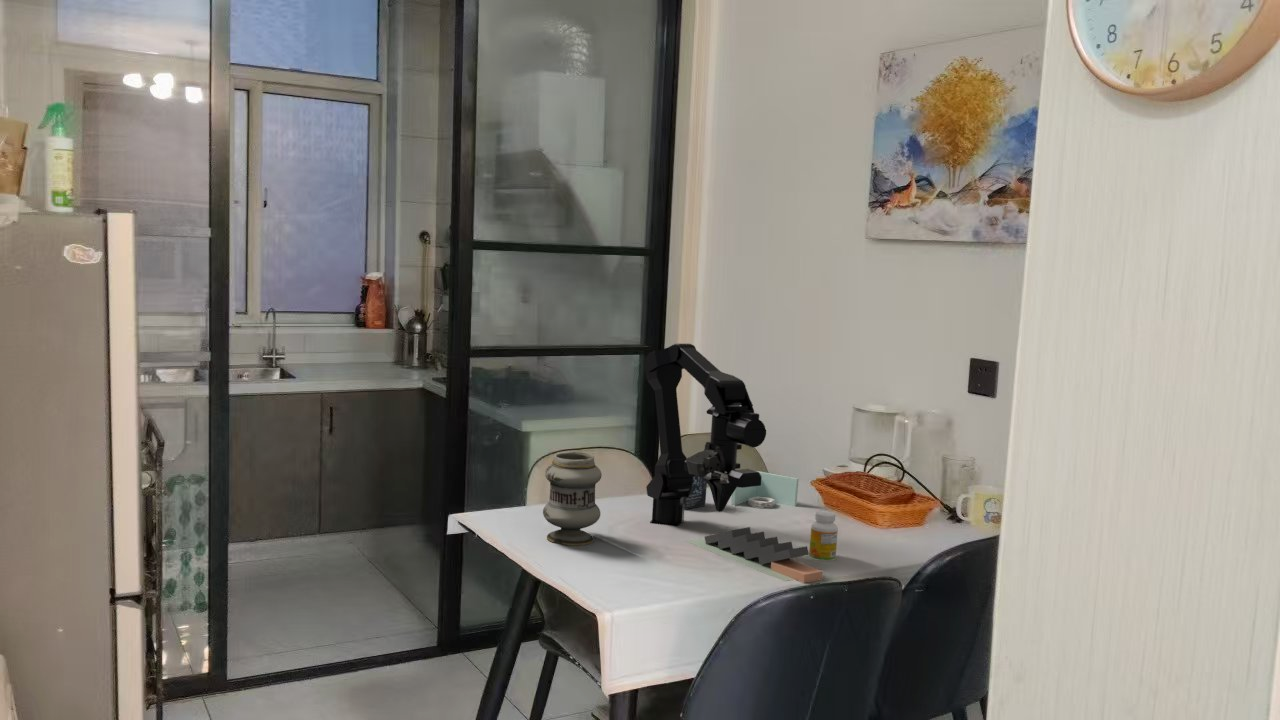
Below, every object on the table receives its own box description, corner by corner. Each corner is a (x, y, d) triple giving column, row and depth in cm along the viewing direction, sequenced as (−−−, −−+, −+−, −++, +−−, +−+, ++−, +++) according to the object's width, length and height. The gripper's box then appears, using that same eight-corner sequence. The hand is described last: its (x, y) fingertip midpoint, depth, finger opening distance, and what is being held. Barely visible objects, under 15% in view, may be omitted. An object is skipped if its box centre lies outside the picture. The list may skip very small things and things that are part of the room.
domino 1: (704, 536, 222) (731, 529, 215) (722, 534, 225) (749, 527, 218) (705, 544, 222) (733, 537, 215) (723, 541, 225) (751, 534, 218)
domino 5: (758, 556, 209) (788, 549, 202) (776, 553, 212) (807, 546, 205) (759, 564, 209) (790, 557, 202) (778, 561, 211) (808, 554, 205)
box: (684, 510, 253) (686, 467, 252) (667, 505, 257) (670, 462, 256) (706, 506, 258) (708, 463, 257) (689, 501, 262) (692, 459, 261)
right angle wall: (731, 506, 261) (733, 477, 261) (754, 499, 271) (756, 470, 270) (774, 515, 254) (776, 485, 254) (796, 508, 264) (798, 478, 264)
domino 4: (743, 551, 212) (772, 544, 205) (761, 548, 215) (791, 541, 208) (745, 559, 212) (774, 552, 205) (763, 556, 215) (793, 549, 208)
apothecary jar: (531, 541, 218) (535, 456, 216) (557, 528, 229) (561, 447, 228) (584, 550, 214) (589, 463, 212) (607, 536, 225) (612, 454, 223)
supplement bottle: (806, 555, 220) (809, 509, 219) (831, 555, 220) (834, 510, 219) (812, 562, 215) (816, 516, 214) (838, 563, 215) (841, 517, 214)
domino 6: (771, 561, 206) (804, 574, 199) (789, 558, 209) (822, 571, 202) (770, 569, 206) (803, 582, 199) (789, 566, 209) (822, 579, 202)
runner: (685, 543, 223) (685, 541, 223) (721, 538, 229) (721, 536, 229) (784, 583, 199) (785, 581, 199) (821, 576, 205) (822, 574, 205)
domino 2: (717, 541, 219) (745, 534, 212) (735, 538, 222) (763, 531, 215) (719, 549, 218) (747, 542, 211) (737, 546, 221) (765, 539, 214)
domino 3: (730, 546, 216) (758, 539, 209) (748, 543, 219) (777, 536, 212) (731, 554, 215) (760, 547, 208) (749, 551, 218) (778, 544, 211)
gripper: (666, 433, 223) (662, 505, 225) (724, 449, 208) (719, 526, 210) (706, 430, 230) (702, 500, 231) (765, 445, 215) (760, 520, 216)
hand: (719, 511), depth 222 cm, fingers closed
